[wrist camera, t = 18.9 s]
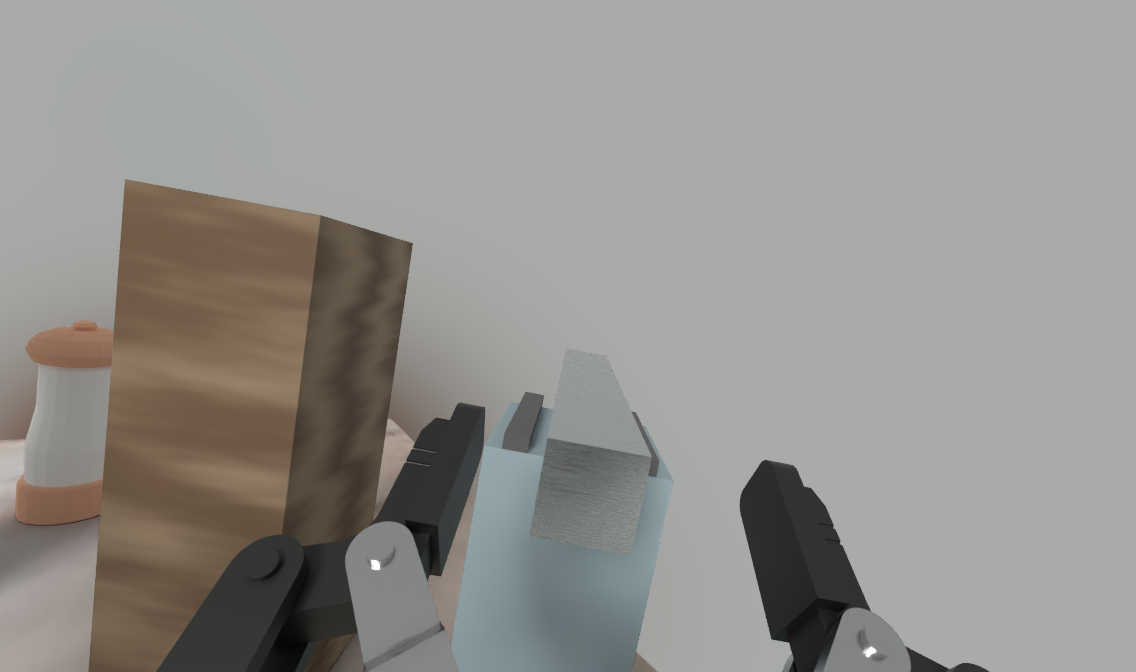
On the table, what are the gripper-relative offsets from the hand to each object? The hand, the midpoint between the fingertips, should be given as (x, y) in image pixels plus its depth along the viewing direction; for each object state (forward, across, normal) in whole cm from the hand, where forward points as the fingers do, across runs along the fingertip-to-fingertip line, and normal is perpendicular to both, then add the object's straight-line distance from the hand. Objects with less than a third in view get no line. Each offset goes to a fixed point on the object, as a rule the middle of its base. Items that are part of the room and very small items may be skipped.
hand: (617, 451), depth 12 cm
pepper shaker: (+12, +49, +37) cm, 62 cm away
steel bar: (+12, 0, +13) cm, 17 cm away
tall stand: (+1, +20, +31) cm, 37 cm away
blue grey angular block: (+1, 0, +31) cm, 31 cm away
